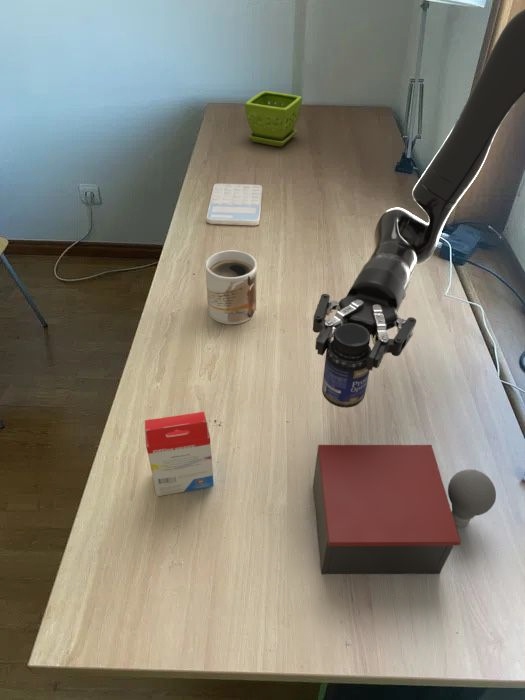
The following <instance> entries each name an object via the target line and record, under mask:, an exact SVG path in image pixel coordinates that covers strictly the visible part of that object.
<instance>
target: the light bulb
mask: <svg viewBox="0 0 525 700" xmlns="http://www.w3.org/2000/svg"><path fill="white" fill-rule="evenodd" d="M447 497H448V500H449V501H450V503H451V512H452V515H453V519H454V522H455V525H456V527H458V528H465V527H467V526H468V525H469V524H470V522H471V520H472V519H473V518H475V517H476V516H483V515H484V514H486V513H488V512H489V511H490V510H491V509H492V508H493V506H494V505H495V503H496V499H497V491H496V488H495V484H494V483H493V481H492V480H491V479H490V477H489V476H488V475H486V474H485V473H484V472H482V471H479V470H476V469H472V468H471V469H470V468H469V469H462V470H460V471H458V472H457V473H455V474H454V475H452V477H451V479H450V480H449V482H448V486H447Z"/></svg>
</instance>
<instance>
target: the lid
mask: <svg viewBox="0 0 525 700" xmlns="http://www.w3.org/2000/svg"><path fill="white" fill-rule="evenodd" d="M317 451H318V455H319V464H320V473H321V482H322V491H323V500H324V510H325V519H326V528H327V537H328V546H453V547H454V546H460V544H461V539H460V536H459V532H458V529H457V526H456V525H455V522H454V519H453V515H452V508H451V505H450V502H449V498H448V494H447V492H446V489H445V486H444V482H443V479H442V476H441V472H440V469H439V466H438V462H437V459H436V456H435V452H434V448H433V446H432V444H318V445H317Z"/></svg>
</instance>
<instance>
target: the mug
mask: <svg viewBox="0 0 525 700" xmlns="http://www.w3.org/2000/svg"><path fill="white" fill-rule="evenodd" d="M204 265H205V278H206V279H205V283H206V301H207V312H208V315H209V316H210V317H211V318H212V319H213V320H214V321H216V322H218V323H221V324H225V325H239V324H243V323H246V322H248V321H250V320H251V319H252V318H253V317H254V316H255V315H256V312H257V282H258V281H257V280H258V279H257V275H258V273H257V271H258V270H257V269H258V264H257V260H256V258H255V257H253V255H251V254H249V253H247V252H245V251H242V250H236V249H235V250H234V249H229V250H228V249H227V250H221V251H218V252H215V253H213V254H212V255H210V256H209V257H208V258H207V259H206V261H205V264H204Z"/></svg>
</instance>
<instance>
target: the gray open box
mask: <svg viewBox="0 0 525 700" xmlns="http://www.w3.org/2000/svg"><path fill="white" fill-rule="evenodd" d="M312 494H313V502H314V503H313V504H314V513H315V525H316V535H317V546H318V547H317V548H318V556H319V566H320V574H321V575H440V574H441V573H442V570H443V568H444V566H445V564H446V562H447V560H448V558H449V556H450V554H451V551H452V550H453V547H454V546H328V537H327V528H326V519H325V510H324V500H323V491H322V482H321V473H320V464H319V455H318V450H317V452H316V459H315V466H314V474H313V480H312Z"/></svg>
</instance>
